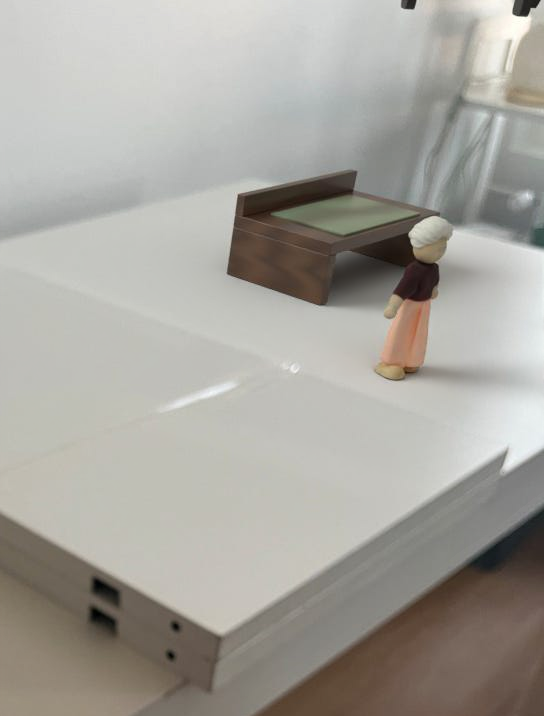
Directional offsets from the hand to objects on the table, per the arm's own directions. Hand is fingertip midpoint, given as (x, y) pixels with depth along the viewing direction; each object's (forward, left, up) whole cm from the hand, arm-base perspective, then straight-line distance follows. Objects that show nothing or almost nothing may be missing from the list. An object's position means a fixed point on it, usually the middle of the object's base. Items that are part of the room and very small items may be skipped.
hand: (463, 12), depth 79 cm
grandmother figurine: (-4, +4, -26) cm, 27 cm away
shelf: (+16, -14, -26) cm, 33 cm away
